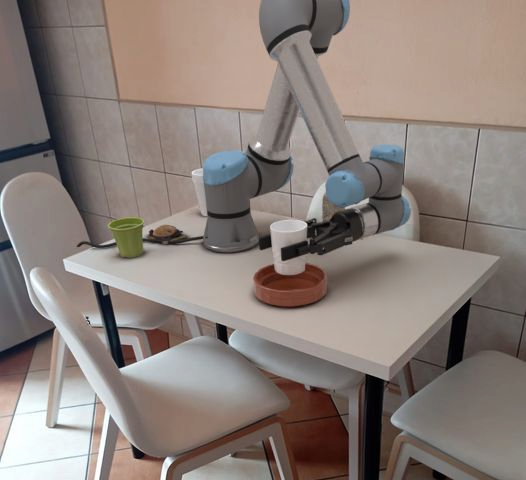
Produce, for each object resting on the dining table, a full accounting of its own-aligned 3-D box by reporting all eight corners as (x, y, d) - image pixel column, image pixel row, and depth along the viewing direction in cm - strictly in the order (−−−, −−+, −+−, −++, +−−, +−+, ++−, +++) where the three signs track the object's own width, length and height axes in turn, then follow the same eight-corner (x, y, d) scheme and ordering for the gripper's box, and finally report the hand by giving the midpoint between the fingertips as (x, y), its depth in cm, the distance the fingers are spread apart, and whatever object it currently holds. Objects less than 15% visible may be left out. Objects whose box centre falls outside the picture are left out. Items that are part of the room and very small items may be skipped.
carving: (345, 232, 160) (346, 189, 154) (345, 241, 154) (346, 197, 147) (323, 232, 161) (323, 189, 155) (321, 241, 155) (321, 197, 148)
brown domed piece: (189, 238, 163) (188, 225, 161) (163, 246, 158) (162, 233, 156) (170, 229, 170) (168, 217, 168) (145, 236, 166) (143, 224, 164)
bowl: (242, 301, 126) (240, 285, 124) (273, 273, 138) (272, 258, 136) (310, 313, 119) (310, 296, 117) (337, 283, 132) (337, 266, 130)
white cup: (313, 273, 124) (312, 228, 118) (278, 279, 122) (276, 234, 117) (300, 260, 130) (299, 217, 125) (267, 266, 128) (265, 222, 123)
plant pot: (119, 263, 149) (112, 231, 144) (110, 252, 156) (103, 221, 152) (153, 255, 152) (148, 224, 148) (143, 245, 160) (137, 214, 155)
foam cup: (221, 218, 176) (217, 175, 169) (192, 217, 178) (187, 175, 171) (229, 208, 184) (225, 167, 177) (201, 208, 186) (197, 167, 179)
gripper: (383, 252, 125) (300, 280, 115) (324, 229, 140) (246, 252, 130) (385, 219, 122) (299, 245, 111) (324, 198, 137) (243, 220, 126)
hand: (270, 249), depth 121 cm, fingers closed on white cup, 8 cm apart
